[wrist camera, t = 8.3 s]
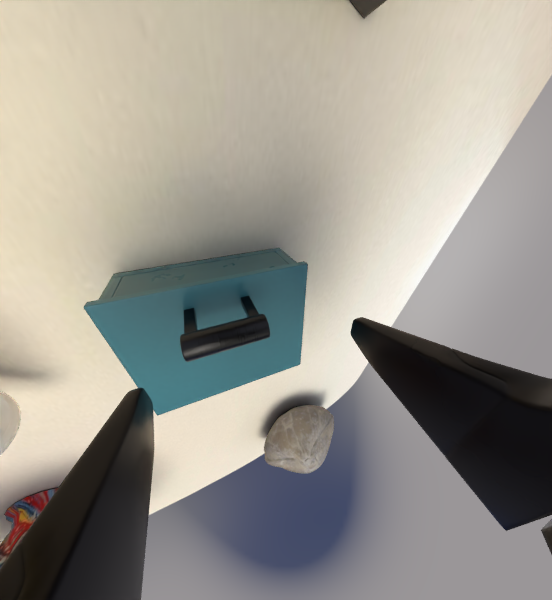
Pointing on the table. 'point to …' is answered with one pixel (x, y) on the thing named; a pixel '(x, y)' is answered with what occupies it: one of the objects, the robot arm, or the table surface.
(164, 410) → the lid
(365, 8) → the thermostat
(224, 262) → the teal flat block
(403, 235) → the table surface
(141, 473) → the robot arm
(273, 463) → the decorative stone
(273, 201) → the table surface
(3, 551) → the vase
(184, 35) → the table surface
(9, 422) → the mug
